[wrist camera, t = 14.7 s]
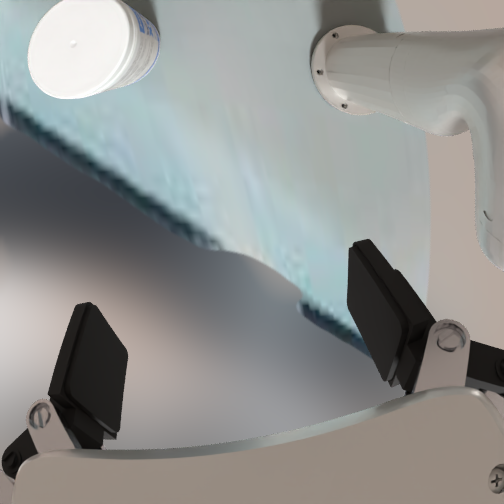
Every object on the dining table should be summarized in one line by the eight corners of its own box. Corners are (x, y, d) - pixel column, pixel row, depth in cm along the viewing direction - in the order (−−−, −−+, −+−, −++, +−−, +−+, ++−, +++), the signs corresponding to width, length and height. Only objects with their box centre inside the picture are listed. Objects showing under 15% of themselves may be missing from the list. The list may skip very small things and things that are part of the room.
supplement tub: (175, 28, 27) (156, 4, 15) (141, 97, 32) (104, 115, 20) (105, 7, 24) (53, -18, 12) (75, 75, 28) (11, 88, 16)
